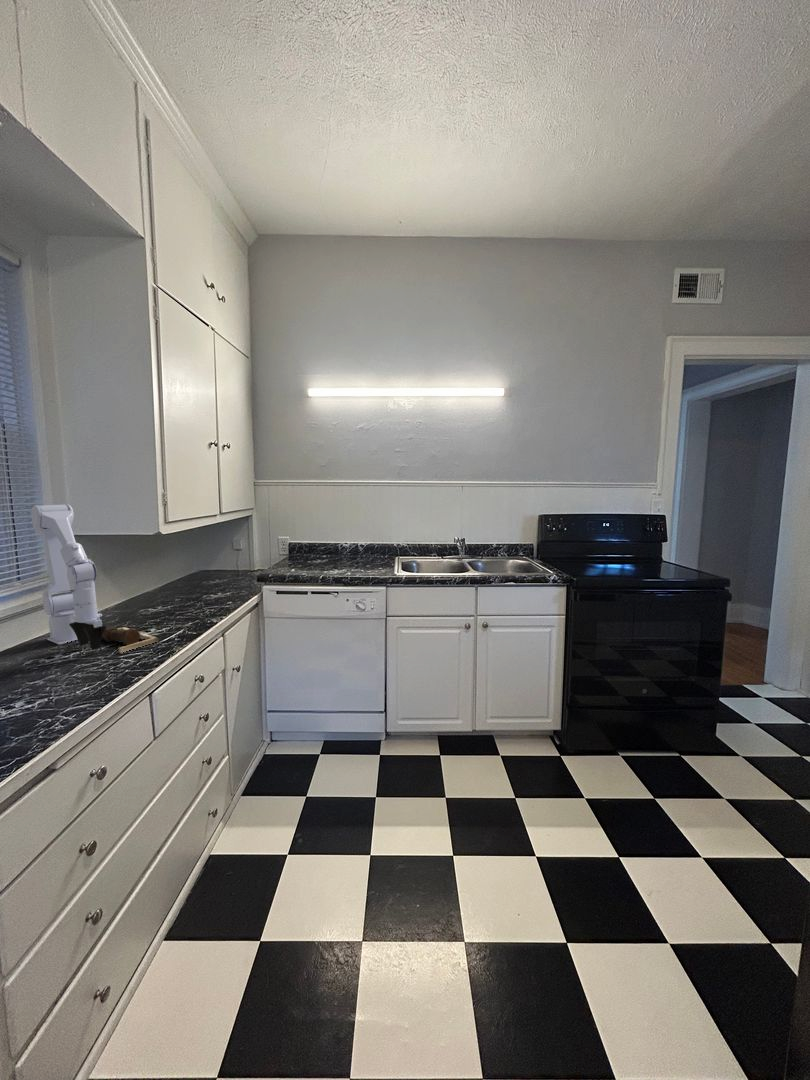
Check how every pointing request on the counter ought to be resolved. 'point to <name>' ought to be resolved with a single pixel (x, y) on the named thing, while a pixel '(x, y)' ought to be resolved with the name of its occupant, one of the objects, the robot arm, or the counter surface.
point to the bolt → (121, 635)
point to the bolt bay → (148, 640)
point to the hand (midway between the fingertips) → (89, 646)
